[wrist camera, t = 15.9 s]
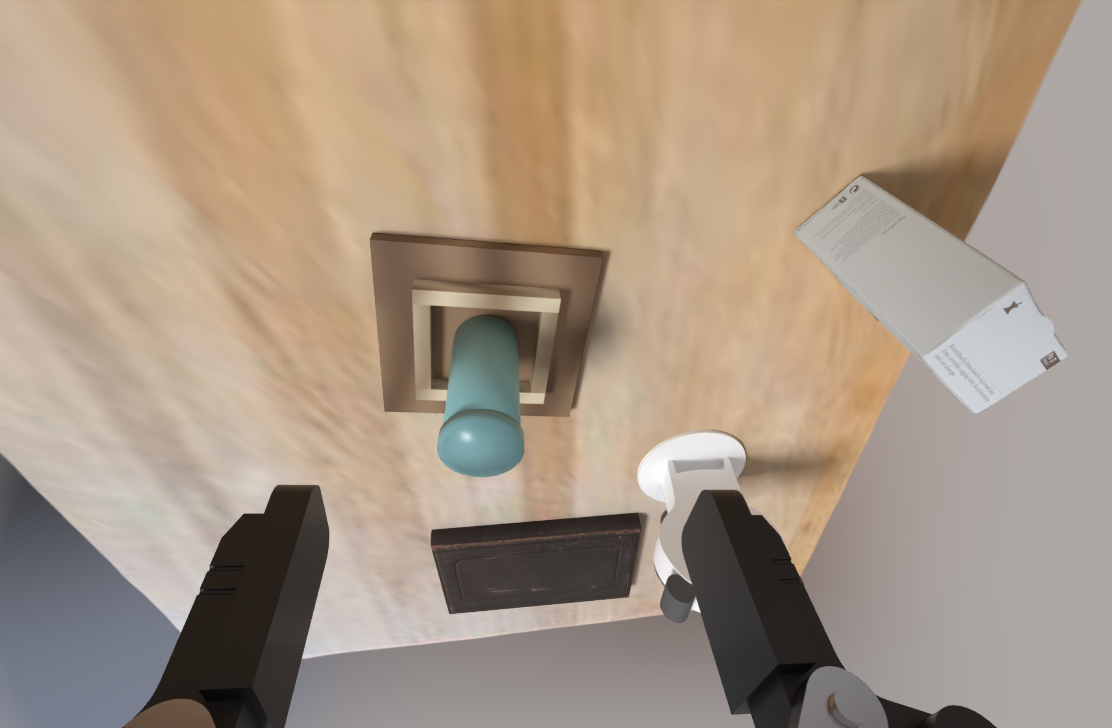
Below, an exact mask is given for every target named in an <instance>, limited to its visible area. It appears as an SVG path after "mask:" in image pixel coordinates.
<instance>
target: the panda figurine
mask: <svg viewBox="0 0 1112 728" xmlns="http://www.w3.org/2000/svg"><path fill="white" fill-rule="evenodd" d="M745 462H746V455H745V451H744V449H743V447H742V445H741V443H740V442H739V441H738V440H737V439H736V438H734V437H733V436H731V435H729V434H727V433H724V432H720V431H714V430H697V431H690V432H686V433H682V434H679V435H676V436H673V437H671V438H669V439H667V440H665V441H663V442H661V443H659V444H658V445H657V446H655V447H654V448H653V449H651V450H650V451H649V452H648V453H647V454H646V456H645V457H644V458H643V460H642V461H641V463H640V465H639V468H638V472H637V478H638V482H639V485H640V487H641V489H642V490H643V492H644V493H645V494H647V495H648V496H649V497H651V498H653V499H655V500H658V501H661V502H665V503H666V508H667V510H666V511H665V512H664V513H663V514H662V516H661V528H660V532H659V535H658V539H657V543H656V547H655V551H654V556H653V559H654V567H655V571H656V573H657V576H658V577H659V579H660V581H661V582H662V584H663V585H664V587H665V588H664V591H663V595H662V598H661V601H660V607H661V609H662V611H663V613H664V615H665V616H666V617H667V618H668V619H670V620H671V621H673V622H677V623H682V622H684V621H685V620H686V619H687V617H688V615H689V612H690V610H691V609H693V610H695V611H698V612H700V609H699V606H698V603H697V599H696V596H695V593H694V589H693V586H692V583H691V580H690V576H689V573H688V570H687V566H686V563H685V560H684V556H683V552H682V543H681V538H682V531H683V528H684V525H685V523H686V521H687V519H688V517H689V515H690V513H691V511H692V509H693V507H694V505H695V503H696V501H697V498H698V496H699V494H700V493H701V491H702V490H738V491H739V492H740V493H741V494H742V495H743V493H742V491H741V488H740V486H739V484H738V481H737V478H738V477H739V475H740V474H741V472H742V471H743V468H744V466H745ZM743 497H744V495H743ZM744 499H745V497H744ZM745 501H746V500H745ZM746 503H747V502H746ZM747 505H748V504H747ZM748 508H749V510H750V512H751V514H752V515H762V516H763V517H764V518H765V519H766V520H767V521H768V522H769V524H770V525H771V526H772V527H773V528H774V529H775V530H776V531H777V533H778V534H779V535H780V533H779V532H778V530H777V529H776V527H775V526H774V525H773V524H772V523H771V521H770V520H769V519H768V518H766V517H765V516H764V515H763V514H762V513H760V512H759V511H757V510H755V509H754V508H752V507H749V506H748ZM780 536H781V535H780ZM781 538H782V537H781ZM783 543H784V542H783ZM800 582H801V583H803V581H802V579H801V577H800ZM803 585H804V583H803ZM700 613H701V612H700Z"/></svg>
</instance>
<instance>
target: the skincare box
mask: <svg viewBox="0 0 1112 728" xmlns="http://www.w3.org/2000/svg"><path fill="white" fill-rule="evenodd" d="M794 235H795V236H796V238H797V239H798V240H800V241H801V242H802V243H803V244H804V245H805V246H806V247H807V248H808V249H809V250H810V251H811V252H812V253H813V254H814V255H815V256H817V257H818V258H819V259H820V260H821V261H822V262H823V263H824V264H825V265H826V267H827V268H828V269H829V270H830V271H831V272H832V273H833V275H834V276H835V277H836V278H837V279H838V281H839V282H840V284H841V285H842V286H843V287H844V288H845V289H846V290H847V291H848V292H849V293H850V294H851V295H852V296H853V297H854V298H855V299H856V300H857V301H858V302H859V303H860V304H861V305H862V306H863V307H864V308H865V309H866V310H867V311H868V312H869V313H870V314H871V315H872V316H874V317H875V318H876V319H877V320H878V321H879V322H880V323H881V324H882V325H883V326H884V327H885V328H886V329H887V330H888V331H889V332H890V333H891V334H892V335H893V336H894V337H895V338H896V339H897V340H898V341H899V342H900V343H902V344H903V345H904V346H905V347H906V348H907V349H908V350H909V351H910V352H911V353H912V354H913V355H914V356H915V357H916V358H917V359H918V360H919V361H920V362H921V363H923V364H924V365H925V366H926V367H927V368H928V369H929V370H930V371H931V372H932V373H933V374H934V375H935V376H936V377H937V378H938V379H939V380H940V381H941V382H942V383H943V384H944V385H945V386H946V387H947V388H948V389H949V390H950V391H951V392H952V393H953V394H954V395H955V396H956V397H957V398H958V399H959V400H960V401H961V402H962V403H963V404H964V405H965V406H966V407H967V408H968V409H969V410H971V411H972V412H973V413H975V414H976V413H979V412H980V411H982V410H983V409H985V408H987V407H989V406H991V405H992V404H994V403H995V402H997V401H999V400H1000V399H1002V398H1003V397H1005V396H1006V395H1008V394H1009V393H1011V392H1013V391H1014V390H1016V389H1017V388H1019V387H1021V386H1022V385H1024V384H1025V383H1027V382H1028V381H1029V380H1032V379H1033V378H1035V377H1036V376H1038V375H1040V374H1041V373H1043V372H1044V371H1046V370H1047V369H1049V368H1050V367H1052V366H1053V365H1055V364H1057V363H1058V362H1060V361H1061V360H1063V359H1065V358H1066V357H1067V356H1068V355H1069V353H1068V351H1067V350H1066V348H1065V347H1064V345H1063V344H1062V343H1061V342H1060V340H1059V338H1058V337H1057V335H1056V334H1055V332H1054V324H1053V322H1052V320H1051V319H1050V318H1049V317H1046V316H1044V315H1043V314H1042V312H1041V310H1040V309H1039V307H1038V305H1037V304H1036V302H1035V301H1034V299H1033V297H1032V294H1031V292H1030V289H1029V287H1028V285H1027V283H1026V282H1025V281H1024V280H1022V279H1020V278H1019V277H1017V276H1016V275H1014V274H1013V273H1011V272H1010V271H1008V270H1007V269H1005V268H1004V267H1002V266H1001V265H999V264H998V263H996V262H994V261H993V260H992V259H990V258H988V257H987V256H985V255H984V254H982V253H981V252H979V251H978V250H976V249H975V248H973V247H971V246H970V245H968V244H967V243H965V242H964V241H962V240H961V239H959V238H958V237H956V236H955V235H953V234H952V233H950V232H948V231H947V230H945V229H944V228H942V227H941V226H939V225H938V224H936V223H935V222H933V221H932V220H930V219H929V218H927V217H926V216H924V215H922V214H921V213H919V212H918V211H916V210H915V209H913V208H912V207H910V206H909V205H907V204H905V203H904V202H902V201H901V200H899V199H898V198H896V197H895V196H893V195H891V194H890V193H888V192H887V191H885V190H884V189H882V188H881V187H879V186H878V185H876V184H874V183H873V182H871V181H870V180H868V179H867V178H865V177H864V176H859V177H858V178H856V179H855V180H854V181H853V182H851V183H850V184H849V185H848V186H847V187H846V188H845V189H844V190H843V191H842V192H841V193H839V194H838V195H837V196H836V197H835V198H833V199H832V200H831V201H830V202H829V203H827V204H826V205H825V206H824V207H822V208H821V209H820V210H819V211H817V212H816V213H815V214H814V215H813V216H812V217H811V218H809V219H808V220H807V221H806V222H805V223H803V224H802V225H801V226H800V227H799V228H798V229H797V230H796V231H795V232H794Z"/></svg>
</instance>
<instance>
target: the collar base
mask: <svg viewBox="0 0 1112 728" xmlns="http://www.w3.org/2000/svg"><path fill="white" fill-rule="evenodd" d="M370 248H371V259H372V271H373V282H374V294H375V305H376V317H377V329H378V340H379V352H380V363H381V375H382V386H383V398H384V409H385V412H419V413H445V407H446V399H447V390H448V382H449V374H450V365H451V357H452V348H453V340H454V334H455V331H456V330H457V328H458V327H459V326H460V325H461V324H462V323H463V322H464V321H466V320H468V319H470V318H472V317H476V316H483V315H487V316H494V317H498V318H500V319H503V320H505V321H506V322H508V323H509V324H510V325H511V326H512V327H513V328H514V330H515V331H516V333H517V336H518V354H519V390H520V415H523V416H558V417H569V416H570V411H571V406H572V402H573V397H574V392H575V388H576V383H577V378H578V373H579V369H580V364H581V359H582V355H583V350H584V345H585V341H586V336H587V331H588V326H589V322H590V317H591V312H592V308H593V303H594V298H595V293H596V289H597V284H598V279H599V275H600V270H601V265H602V260H603V256H602V253H601V251H592V250H580V249H567V248H555V247H542V246H530V245H517V244H505V243H492V242H480V241H467V240H454V239H442V238H429V237H417V236H404V235H392V234H379V233H372V235H371V238H370Z"/></svg>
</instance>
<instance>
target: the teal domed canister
mask: <svg viewBox="0 0 1112 728" xmlns="http://www.w3.org/2000/svg"><path fill="white" fill-rule="evenodd" d="M437 450H438V455H439V457H440V459H441V460H442V462H443V463H444V464H445V465H446V466H447V467H448V468H450V469H452V470H453V471H455V472H458V473H460V474H463V475H467V476H473V477H489V476H495V475H499V474H502V473H505V472H507V471H509V470H511V469H512V468H514V467H515V466H516V465H517V464H518V463H519V462H520V460H521V459H522V457H523V454H524V433H523V430H522V428H521V426H520V390H519V354H518V336H517V333H516V331H515V330H514V328H513V327H512V326H511V325H510V324H509V323H508V322H506V321H505V320H503V319H500V318H498V317H494V316H487V315H483V316H476V317H472V318H470V319H468V320H466V321H464V322H463V323H462V324H461V325H460V326H459V327H458V328H457V330H456V331H455V334H454V340H453V348H452V357H451V365H450V374H449V382H448V390H447V399H446V407H445V416H444V424H443V425H442V427H441V429H440V432H439V439H438V447H437Z"/></svg>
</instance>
